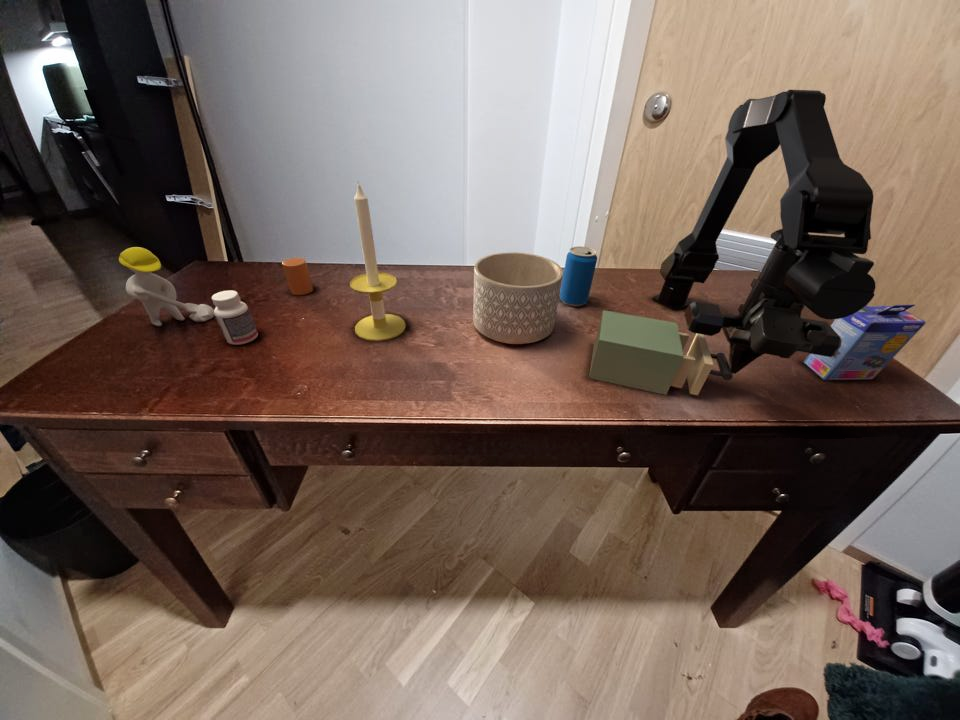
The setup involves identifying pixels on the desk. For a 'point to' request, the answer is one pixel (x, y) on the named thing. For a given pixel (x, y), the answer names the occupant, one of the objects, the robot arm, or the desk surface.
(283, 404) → the desk surface
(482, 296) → the planter
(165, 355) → the desk surface
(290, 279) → the orange cylinder
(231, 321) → the pill bottle
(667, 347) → the cabinet
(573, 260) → the beverage can
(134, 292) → the figurine
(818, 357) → the ink cartridge box
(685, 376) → the drawer
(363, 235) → the candle
